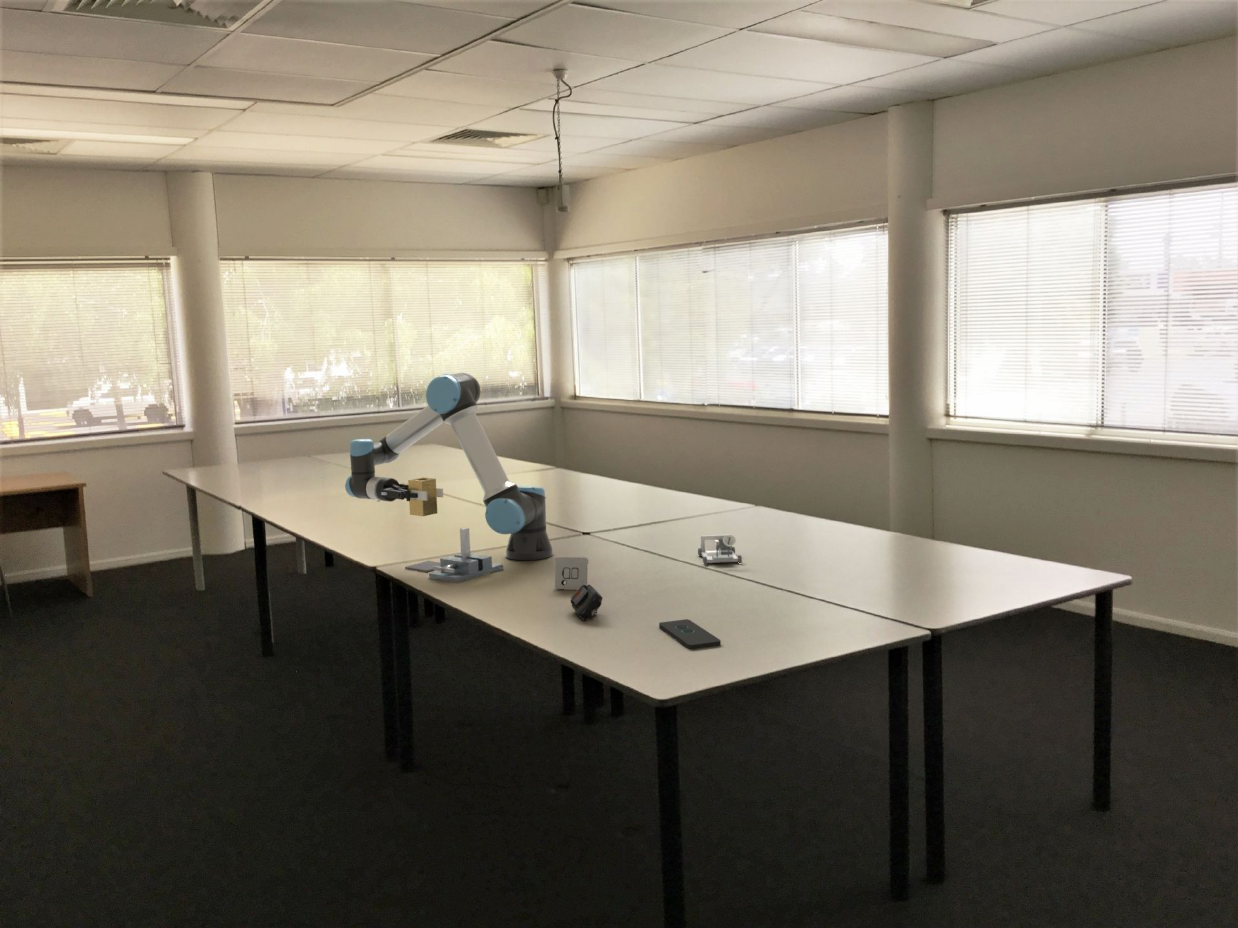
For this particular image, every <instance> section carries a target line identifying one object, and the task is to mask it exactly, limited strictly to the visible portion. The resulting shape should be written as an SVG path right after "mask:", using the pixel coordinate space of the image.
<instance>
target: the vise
mask: <svg viewBox="0 0 1238 928" xmlns="http://www.w3.org/2000/svg"><path fill="white" fill-rule="evenodd" d="M470 537H471V534H470V528H468V527H462V528H459V539H460V553H457V554H454V555H453V556H451V555H448V556H445V557H441V558H439V562H440V565H441V567H439V566H434V567H433V570H434V571H431V572H428V578H429V579H432V580H433V579H434V580H437V581H445V582H450V583H457V584H459V583H462V582H465V581H468V580H469V581H470V580H472V579H475V578H478V576H479V577H482V576H485V575H488V574H491V572H492V573H495V572H498V570H499V571H502V570H504V564H502V563H498V562H497V563H496V562H493V558H492V556H491V555H486V554H485V555H484V554H479V553H478V554H477V553H471V541H470V540H471V539H470ZM484 574H485V575H484ZM461 581H462V582H461Z"/></svg>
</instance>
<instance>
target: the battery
mask: <svg viewBox="0 0 1238 928" xmlns="http://www.w3.org/2000/svg"><path fill="white" fill-rule="evenodd" d="M602 601H603V596H602V595H601V594H600V593H599V592H598V591H597V590H596V589H595V587H593V586H592V585H590V584H587V586H586V585H582V586H581V587H580V588H579V589H578V590H576V592H575V593H574V594H573V595H572V597H571V599H570V603H571V608H572V609H573V610H574V611H575V613H576V614H577V615H578V617H580V618H581V619H582V620H583V621H586V620H590V619H591V618H593V616H594V615H595V614H596V615H597V614H598V612H597V611H598V609H600V607H601V606H602Z"/></svg>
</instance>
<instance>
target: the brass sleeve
mask: <svg viewBox="0 0 1238 928" xmlns="http://www.w3.org/2000/svg"><path fill="white" fill-rule="evenodd" d="M407 480H408V481H407V482H408V483H407V485H408V486H409V491H410V492H411V490H416V491H426V492H427V500H426V501H425V500H416V499H411V498H410V501H408V502H409V515H411V516H416V517H417V516H418V517H427V516H431V515H435V514H438V497H437V494H436V488H437V478H434V477H433V478H431V477H424V476H423V477H419V478H418V477H416V478H411V479H407Z"/></svg>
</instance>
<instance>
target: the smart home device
mask: <svg viewBox="0 0 1238 928" xmlns="http://www.w3.org/2000/svg"><path fill="white" fill-rule="evenodd" d="M658 626H659V629H660V630H661V631H663V632H664V633H666V634H667V635H669V637H671V638H672V639H674V640H675V639H676V642H679V643H680V644H681V645H682V646H684V647H685V648H686V649H688V650H690V651H691V650H698V649H706V648H714V647H720V646H721V644H722V643H721V641H722V640H721V639H720V638H718V637H716V636H715V635H713V634H712V633H711V632H709V631H707V630H706V629H704V628H703V627H701V626H700V625H698V624H697V623H695V622H693V621H692V620H691V619H687V618H686V619H685V618H684V619H679V620H670V621H663V622H659V625H658Z"/></svg>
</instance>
